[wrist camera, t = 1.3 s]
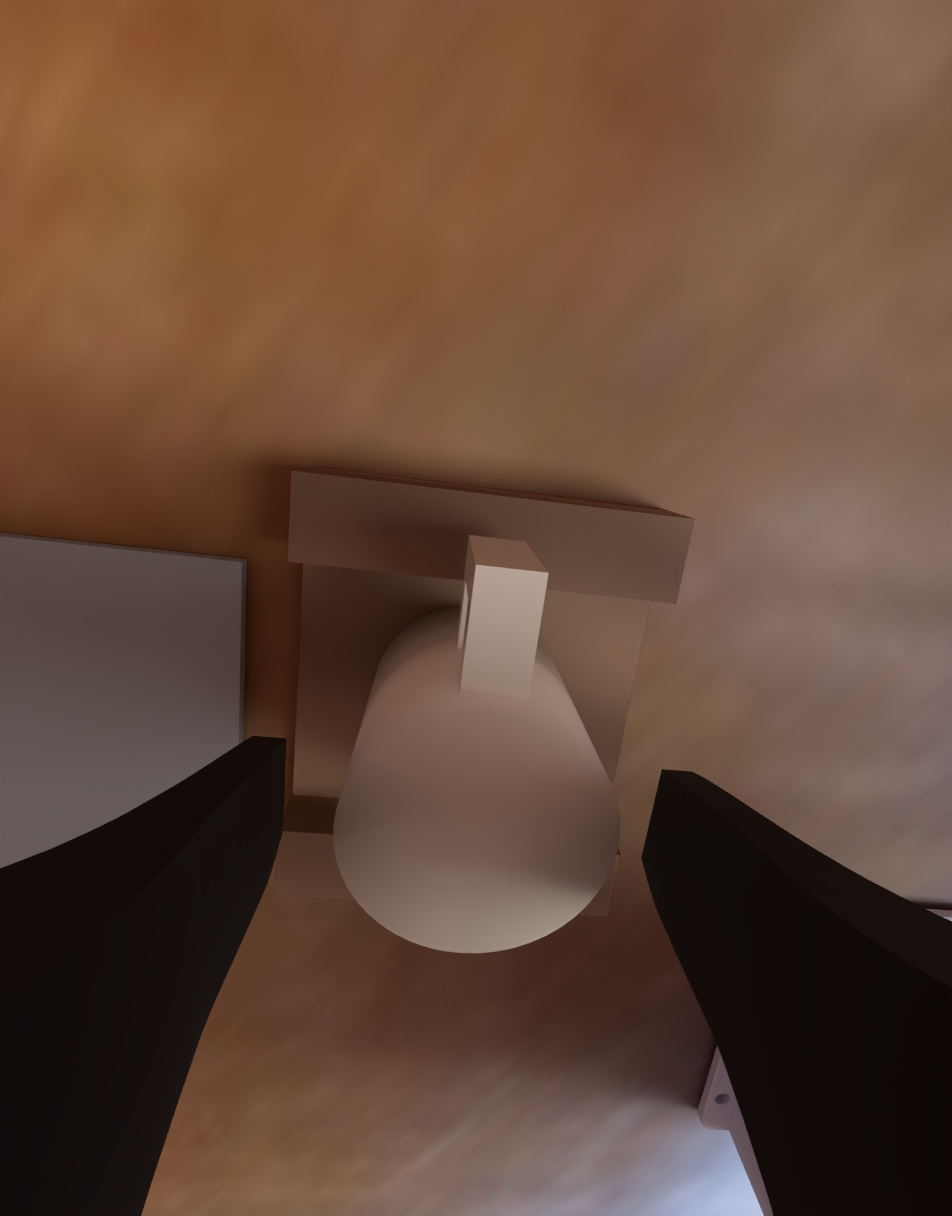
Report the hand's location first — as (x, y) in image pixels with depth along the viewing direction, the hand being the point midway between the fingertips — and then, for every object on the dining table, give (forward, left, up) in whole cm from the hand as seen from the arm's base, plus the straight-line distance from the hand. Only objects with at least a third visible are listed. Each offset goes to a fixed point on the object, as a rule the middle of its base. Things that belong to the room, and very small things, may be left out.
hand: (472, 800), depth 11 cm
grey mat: (-2, +11, -5) cm, 12 cm away
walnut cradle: (0, 0, -5) cm, 5 cm away
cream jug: (+1, 0, -5) cm, 5 cm away
